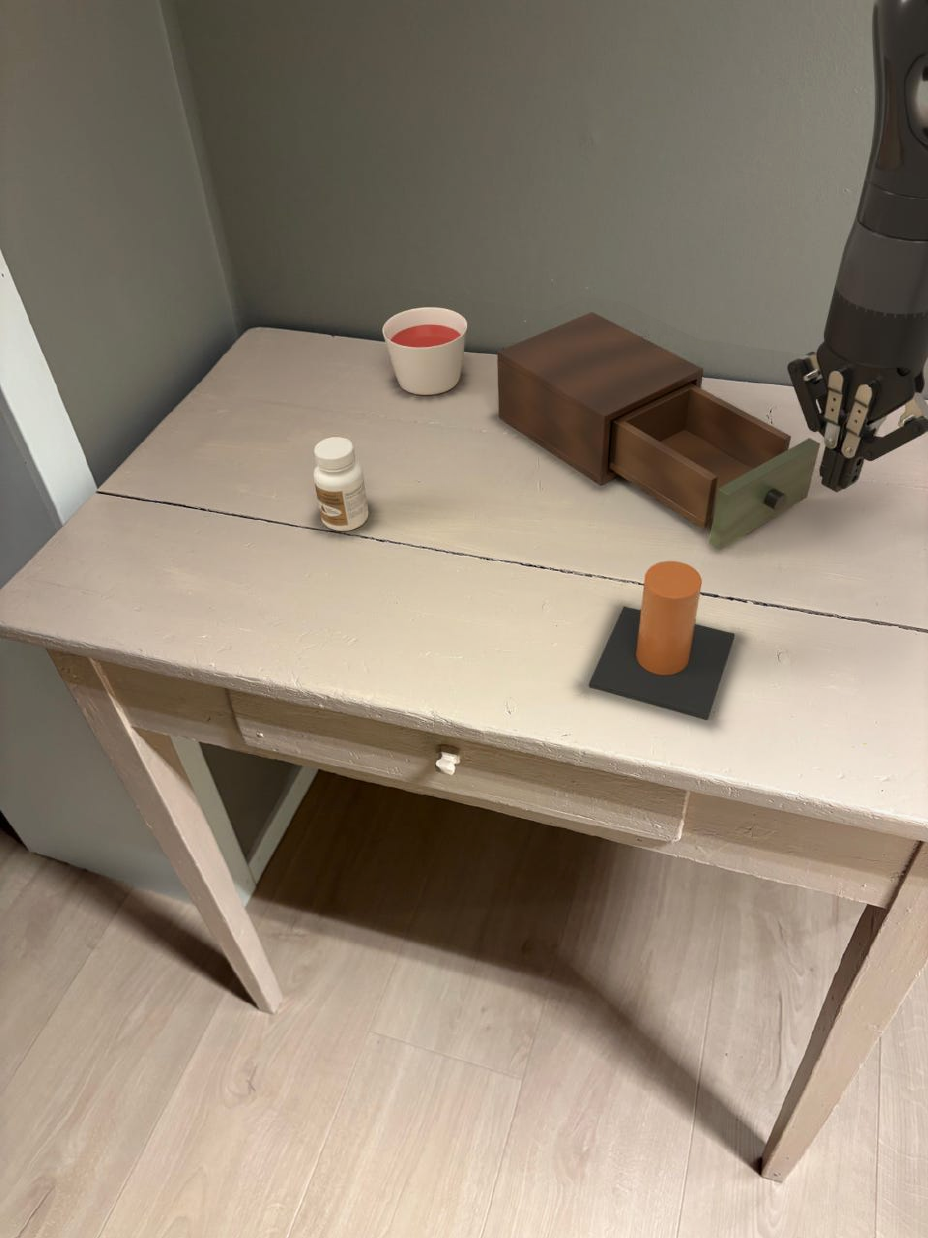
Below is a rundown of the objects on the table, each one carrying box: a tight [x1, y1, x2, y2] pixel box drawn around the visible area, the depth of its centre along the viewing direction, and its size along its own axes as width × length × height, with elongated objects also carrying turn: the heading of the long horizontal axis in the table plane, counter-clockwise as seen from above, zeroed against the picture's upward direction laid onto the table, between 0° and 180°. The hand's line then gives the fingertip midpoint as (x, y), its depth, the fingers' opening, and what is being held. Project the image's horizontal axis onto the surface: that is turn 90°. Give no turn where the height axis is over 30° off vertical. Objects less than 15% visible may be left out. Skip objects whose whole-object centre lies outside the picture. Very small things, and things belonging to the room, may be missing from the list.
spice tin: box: [636, 560, 703, 675], centre depth 71 cm, size 4×4×8 cm
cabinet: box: [496, 311, 704, 486], centre depth 95 cm, size 16×13×8 cm
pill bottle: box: [312, 436, 369, 532], centre depth 86 cm, size 4×4×8 cm
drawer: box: [610, 383, 821, 551], centre depth 86 cm, size 16×11×6 cm
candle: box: [382, 306, 468, 396], centre depth 104 cm, size 9×9×6 cm
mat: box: [588, 605, 736, 720], centre depth 74 cm, size 9×9×1 cm
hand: (836, 485), depth 79 cm, fingers closed
